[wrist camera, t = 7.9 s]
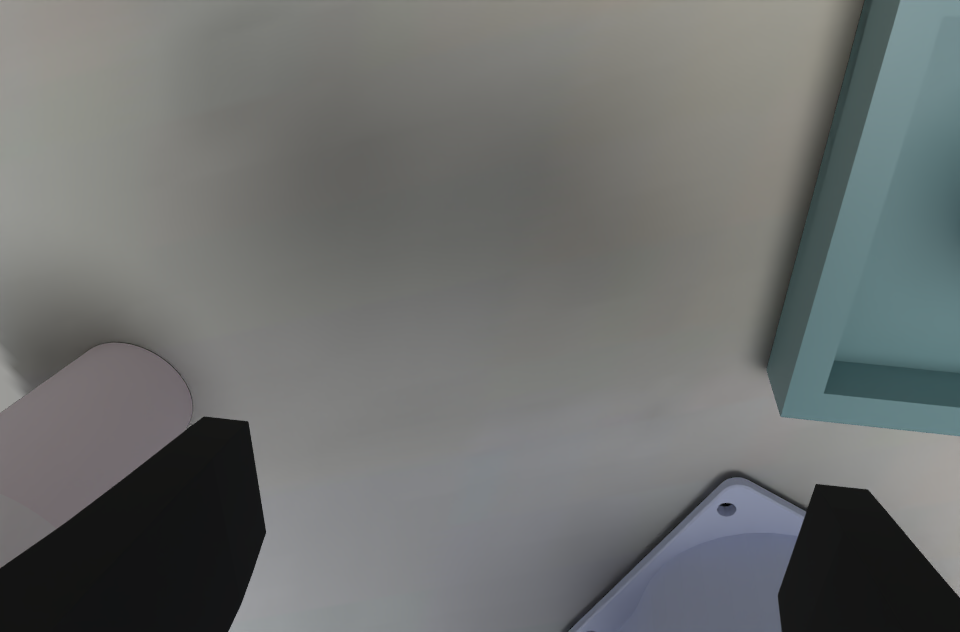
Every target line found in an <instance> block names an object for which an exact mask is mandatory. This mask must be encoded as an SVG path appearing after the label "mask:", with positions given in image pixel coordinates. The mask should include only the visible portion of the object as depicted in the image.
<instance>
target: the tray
mask: <svg viewBox="0 0 960 632" xmlns="http://www.w3.org/2000/svg"><path fill="white" fill-rule="evenodd" d="M767 373H768V376H769V380H770V383H771V386H772V390H773V393H774V396H775V400H776V403H777V406H778V410H779V413H780V416H781V417H787V418H797V419H806V420H815V421H824V422H834V423H843V424H852V425H861V426H871V427H880V428H889V429H898V430H907V431H917V432H926V433H935V434H944V435H954V436H960V0H865V1H864V5H863V9H862V12H861V16H860V20H859V24H858V28H857V31H856V35H855V39H854V43H853V46H852V50H851V54H850V58H849V61H848V65H847V69H846V73H845V76H844V80H843V84H842V88H841V91H840V95H839V99H838V103H837V106H836V110H835V114H834V118H833V121H832V125H831V129H830V133H829V137H828V140H827V144H826V148H825V152H824V155H823V159H822V163H821V167H820V170H819V174H818V178H817V182H816V185H815V189H814V193H813V197H812V200H811V204H810V208H809V212H808V215H807V219H806V223H805V227H804V231H803V234H802V238H801V242H800V246H799V249H798V253H797V257H796V261H795V264H794V268H793V272H792V276H791V279H790V283H789V287H788V291H787V294H786V298H785V302H784V306H783V309H782V313H781V317H780V321H779V324H778V328H777V332H776V336H775V340H774V343H773V347H772V351H771V355H770V358H769V362H768V366H767Z"/></svg>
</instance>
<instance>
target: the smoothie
mask: <svg viewBox="0 0 960 632" xmlns="http://www.w3.org/2000/svg"><path fill="white" fill-rule="evenodd" d="M192 410H193V406H192V399H191V395H190V392H189V389H188V387H187V385H186V384H185V382H184V380H183V379H182V377H181V376H180V375H179V374H178V372H177V371H176V370H175V369H174V368H173V367H172V366H171V365H170V364H168V363H167V362H166V361H165V360H163V359H162V358H161V357H159V356H157V355H156V354H154V353H152V352H150V351H148V350H146V349H144V348H141V347H138V346H135V345H131V344H126V343H105V344H101V345H98V346H95V347H93V348H91V349H90V350H89V351H87V352H86V353H84V354H83V355H81V356H80V357H79V358H77V359H76V360H74V361H73V362H72V363H70V364H69V365H67V366H66V367H64V368H63V369H62V370H60V371H59V372H57V373H56V374H55V375H53V376H52V377H50V378H49V379H48V380H46V381H45V382H43V383H42V384H40V385H39V386H38V387H36V388H35V389H33V390H32V391H31V392H29V393H28V394H26V395H25V396H23V397H22V398H21V399H19V400H18V401H16V402H15V403H14V404H12V405H11V406H9V407H8V408H7V409H5V410H4V411H2V412H1V413H0V568H1V567H3V566H4V565H5V564H7V563H8V562H10V561H11V560H13V559H14V558H15V557H17V556H18V555H20V554H21V553H23V552H24V551H26V550H27V549H28V548H30V547H31V546H33V545H34V544H36V543H37V542H38V541H40V540H41V539H43V538H44V537H46V536H47V535H48V534H50V533H51V532H53V531H54V530H56V529H57V528H59V527H60V526H61V525H63V524H64V523H65V522H67V521H68V520H70V519H71V518H72V517H74V516H75V515H76V514H78V513H79V512H80V511H81V510H83V509H84V508H85V507H87V506H88V505H89V504H91V503H92V502H93V501H95V500H96V499H97V498H99V497H100V496H101V495H103V494H104V493H105V492H107V491H108V490H109V489H111V488H112V487H113V486H114V485H116V484H117V483H118V482H120V481H121V480H122V479H124V478H125V477H126V476H128V475H129V474H130V473H131V472H133V471H134V470H135V469H137V468H138V467H139V466H140V465H142V464H143V463H144V462H146V461H147V460H148V459H149V458H151V457H152V456H153V455H154V454H156V453H157V452H158V451H160V450H161V449H162V448H163V447H165V446H166V445H167V444H169V443H170V442H171V441H172V440H174V439H175V438H176V437H178V436H179V435H180V434H181V433H183V432H184V431H185V430H186V428H187V426H188V424H189V422H190V419H191V416H192Z"/></svg>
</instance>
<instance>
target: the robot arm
mask: <svg viewBox="0 0 960 632" xmlns="http://www.w3.org/2000/svg"><path fill="white" fill-rule="evenodd" d="M722 503H731V504H732V505H730V506H725V507H723V506H719V505H721V504H722ZM265 534H266V529H265V523H264V516H263V510H262V504H261V498H260V491H259V485H258V479H257V473H256V466H255V460H254V454H253V448H252V442H251V435H250V429H249V423H248V421H239V420H230V419H221V418H212V417H203V418H201V419H200V420H199V421H197V422H196V423H195V424H193V425H192V426H191V427H189V428H188V429H187V430H185V431H184V432H183V433H181V434H180V435H179V436H178V437H176V438H175V439H174V440H172V441H171V442H170V443H169V444H167V445H166V446H165V447H163V448H162V449H161V450H160V451H158V452H157V453H156V454H154V455H153V456H152V457H151V458H149V459H148V460H147V461H146V462H144V463H143V464H142V465H140V466H139V467H138V468H137V469H135V470H134V471H133V472H131V473H130V474H129V475H128V476H126V477H125V478H124V479H122V480H121V481H120V482H118V483H117V484H116V485H114V486H113V487H112V488H111V489H109V490H108V491H107V492H105V493H104V494H103V495H101V496H100V497H99V498H97V499H96V500H95V501H93V502H92V503H91V504H89V505H88V506H87V507H85V508H84V509H83V510H81V511H80V512H79V513H78V514H76V515H75V516H74V517H72V518H71V519H70V520H68V521H67V522H65V523H64V524H63V525H61V526H60V527H59V528H57V529H56V530H54V531H53V532H51V533H50V534H48V535H47V536H46V537H44V538H43V539H41V540H40V541H38V542H37V543H36V544H34V545H33V546H31V547H30V548H28V549H27V550H26V551H24V552H23V553H21V554H20V555H18V556H17V557H15V558H14V559H13V560H11V561H10V562H8V563H7V564H5V565H4V566H3V567H1V568H0V632H228V631H229V629H230V627H231V625H232V623H233V620H234V618H235V616H236V614H237V612H238V610H239V608H240V606H241V603H242V600H243V598H244V595H245V592H246V589H247V587H248V584H249V581H250V578H251V576H252V573H253V570H254V567H255V564H256V561H257V558H258V555H259V552H260V549H261V546H262V543H263V540H264V537H265ZM568 632H960V598H959V596H958V595H957V594H956V593H955V592H954V591H953V589H952V588H951V587H950V586H949V585H948V584H947V582H946V581H945V580H944V579H943V578H942V577H941V575H940V574H939V573H938V572H937V571H936V570H935V568H934V567H933V566H932V565H931V564H930V563H929V561H928V560H927V559H926V558H925V557H924V555H923V554H922V553H921V552H920V551H919V550H918V548H917V547H916V546H915V545H914V544H913V542H912V541H911V540H910V539H909V538H908V536H907V535H906V534H905V533H904V532H903V530H902V529H901V528H900V527H899V526H898V524H897V523H896V522H895V521H894V520H893V518H892V517H891V516H890V515H889V514H888V513H887V511H886V510H885V509H884V508H883V507H882V505H881V504H880V503H879V502H878V501H877V500H876V499H875V497H874V496H873V495H872V494H871V493H870V492H869V490H866V489H857V488H847V487H838V486H829V485H820V484H816V485H815V488H814V491H813V494H812V497H811V500H810V503H809V506H808V509H807V512H806V511H804V510H802V509H800V508H799V507H797V506H795V505H793V504H791V503H789V502H788V501H786V500H784V499H782V498H780V497H778V496H777V495H775V494H773V493H771V492H769V491H767V490H766V489H764V488H762V487H760V486H758V485H756V484H755V483H753V482H751V481H749V480H747V479H744V478H741V477H733V478H730V479H727V480H725V481H724V482H722V483H721V484H720V485H719V486H718V487H717V488H716V489H715V490H714V491H713V492H712V493H711V494H710V495H709V496H708V497H707V498H705V499H704V500H703V501H702V502H701V503H700V504H699V505H698V506H697V507H696V508H695V509H694V510H693V511H692V512H691V513H690V514H689V515H688V516H687V517H686V518H685V519H684V520H683V521H682V522H681V523H680V524H679V525H678V526H677V527H676V528H674V529H673V530H672V531H671V532H670V533H669V534H668V535H667V536H666V537H665V538H664V539H663V540H662V541H661V542H660V543H659V544H658V545H657V546H656V547H655V548H654V549H653V550H652V551H651V552H650V553H649V554H648V555H647V556H646V557H645V558H643V559H642V560H641V561H640V562H639V563H638V564H637V565H636V566H635V567H634V568H633V569H632V570H631V571H630V572H629V573H628V574H627V575H626V576H625V577H624V578H623V579H622V580H621V581H620V582H619V583H618V584H617V585H616V586H615V587H614V588H612V589H611V590H610V591H609V592H608V593H607V594H606V595H605V596H604V597H603V598H602V599H601V600H600V601H599V602H598V603H597V604H596V605H595V606H594V607H593V608H592V609H591V610H590V611H589V612H588V613H587V614H586V615H585V616H584V617H582V618H581V619H580V620H579V621H578V622H577V623H576V624H575V625H574V626H573V627H572V628H571V629H570V630H569V631H568Z"/></svg>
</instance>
